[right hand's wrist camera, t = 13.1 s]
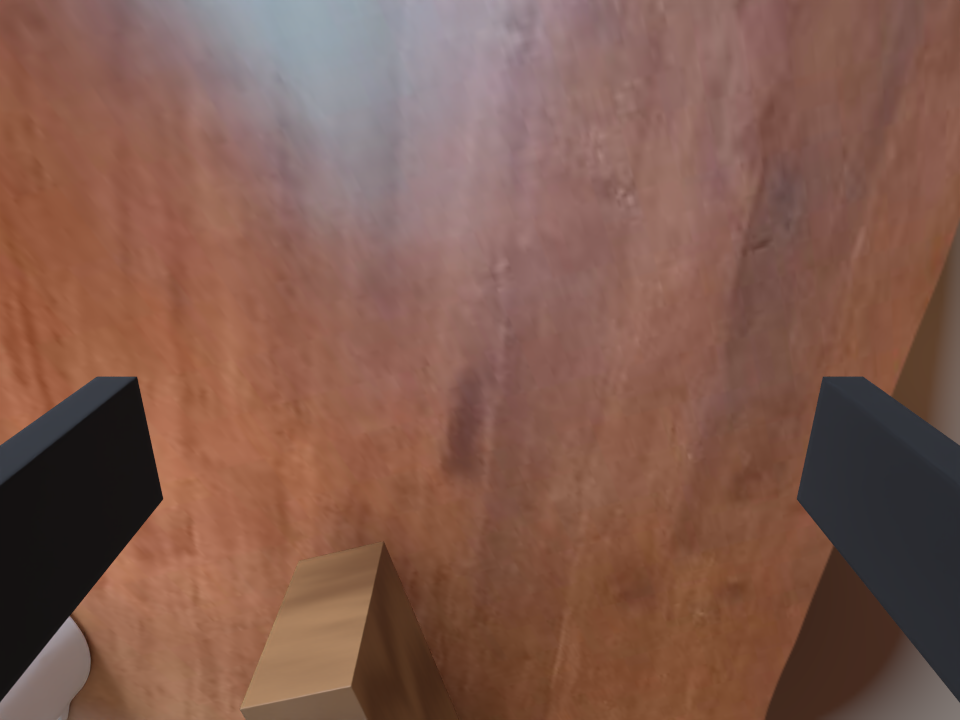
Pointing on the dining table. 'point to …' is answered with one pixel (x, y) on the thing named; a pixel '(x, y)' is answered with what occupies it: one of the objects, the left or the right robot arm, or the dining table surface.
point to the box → (347, 647)
